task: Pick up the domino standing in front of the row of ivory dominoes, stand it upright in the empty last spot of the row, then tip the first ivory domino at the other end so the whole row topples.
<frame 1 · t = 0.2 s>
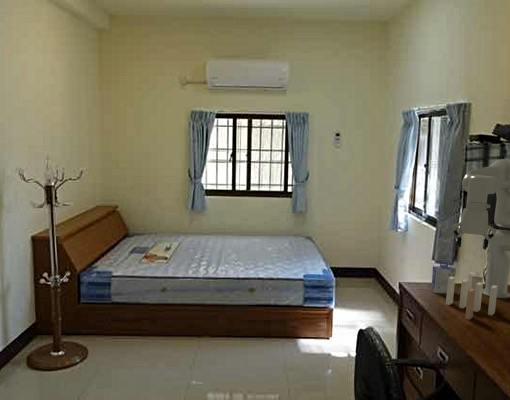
hand: (471, 247, 212), 30 cm above the table, tool pointing down, fingers open, 9 cm apart
domino 3: (462, 306, 230), on the table
ink cartridge box: (442, 292, 251), on the table
domino 1: (491, 313, 222), on the table
domino 4: (449, 303, 233), on the table
supplement box: (473, 302, 237), on the table
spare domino: (468, 317, 215), on the table
domino 2: (476, 310, 226), on the table
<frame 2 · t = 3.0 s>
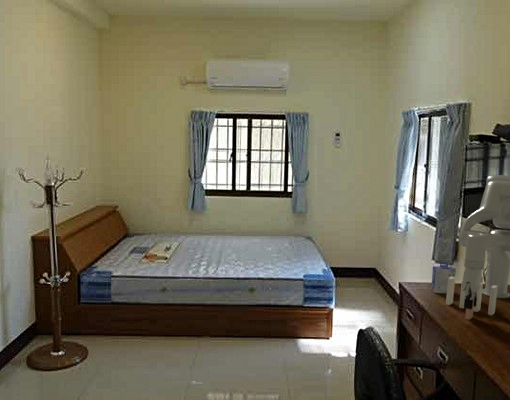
hand: (470, 306, 215), 5 cm above the table, tool pointing down, fingers closed on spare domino, 4 cm apart
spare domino: (468, 317, 215), on the table, touching gripper
everything else where it was.
when the fingers open (6 cm above the table, at t = 10.4 s): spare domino stays where it is, on the table.
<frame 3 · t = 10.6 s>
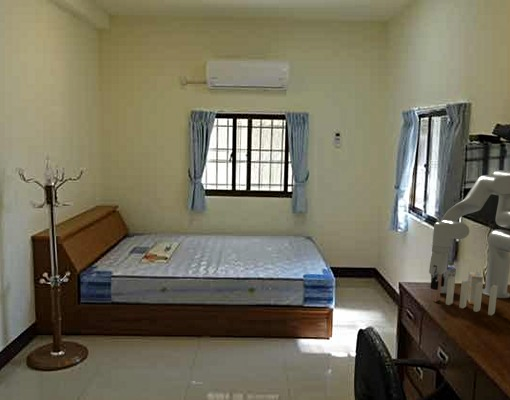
hand: (437, 287, 236), 6 cm above the table, tool pointing down, fingers open, 6 cm apart
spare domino: (436, 300, 237), on the table
everything else where it was.
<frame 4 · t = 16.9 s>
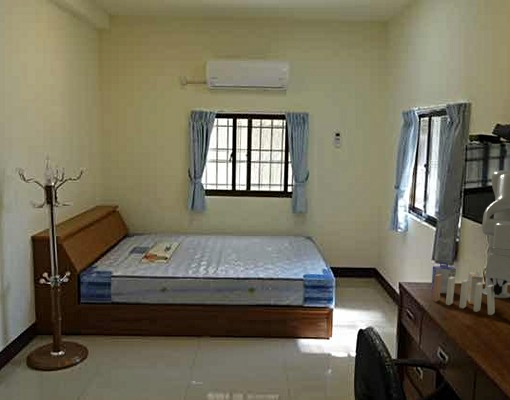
hand: (497, 294, 220), 9 cm above the table, tool pointing down, fingers closed
domino 1: (491, 313, 222), on the table, tilted 7°
everything else where it was.
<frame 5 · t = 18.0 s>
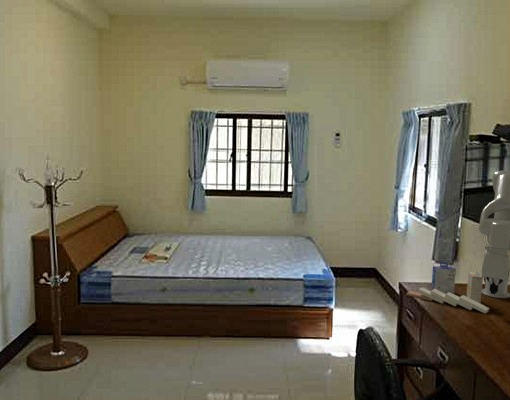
hand: (493, 293, 221), 9 cm above the table, tool pointing down, fingers closed
domino 3: (457, 303, 231), point 1 cm above the table, tilted 74°, touching domino 2, domino 4
domino 1: (487, 310, 223), point 1 cm above the table, tilted 75°, touching domino 2
domino 4: (444, 301, 235), point 1 cm above the table, tilted 77°, touching domino 3
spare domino: (433, 299, 238), on the table, tilted 90°
domino 2: (472, 307, 227), point 1 cm above the table, tilted 75°, touching domino 1, domino 3
everything else where it was.
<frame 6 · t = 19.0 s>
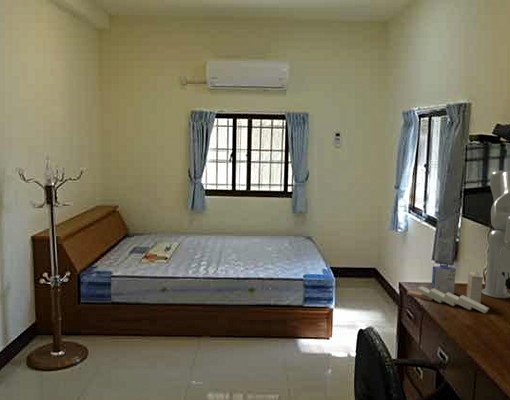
hand: (509, 288, 217), 12 cm above the table, tool pointing down, fingers closed
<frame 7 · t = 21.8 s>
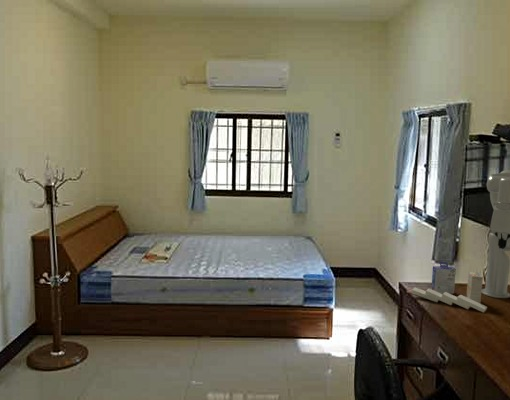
hand: (501, 248, 227), 27 cm above the table, tool pointing down, fingers closed
domino 3: (452, 302, 233), point 1 cm above the table, tilted 75°, touching domino 2, domino 4
domino 1: (485, 309, 225), point 1 cm above the table, tilted 76°, touching domino 2
domino 4: (438, 299, 236), point 1 cm above the table, tilted 79°, touching domino 3
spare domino: (431, 298, 240), on the table, tilted 90°
domino 2: (469, 306, 228), point 1 cm above the table, tilted 76°, touching domino 1, domino 3
everything else where it was.
at the end: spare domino tilted 90°; domino 3 tilted 75° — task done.
